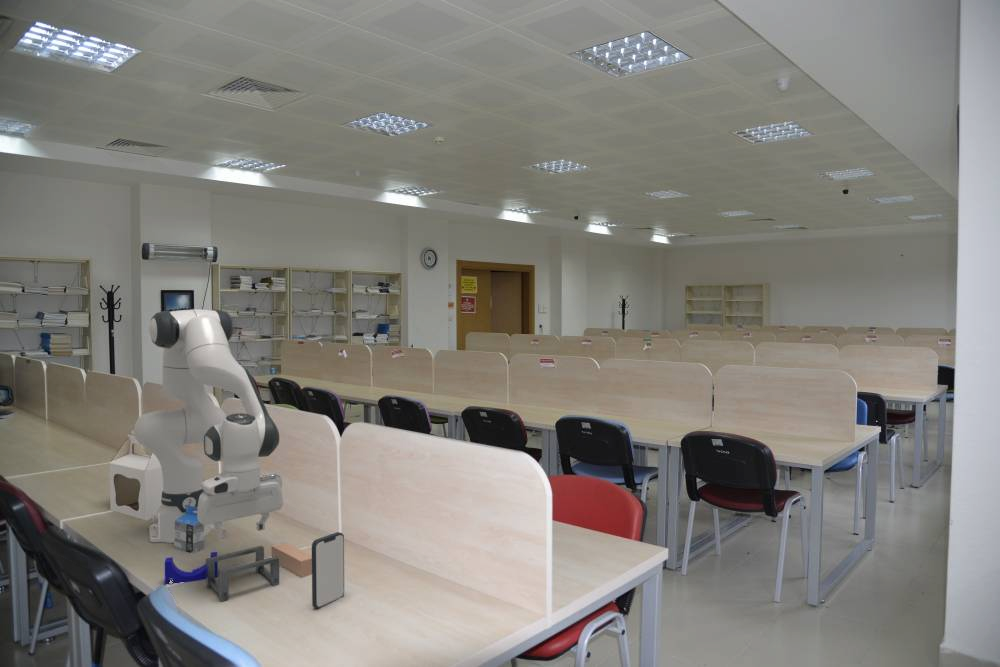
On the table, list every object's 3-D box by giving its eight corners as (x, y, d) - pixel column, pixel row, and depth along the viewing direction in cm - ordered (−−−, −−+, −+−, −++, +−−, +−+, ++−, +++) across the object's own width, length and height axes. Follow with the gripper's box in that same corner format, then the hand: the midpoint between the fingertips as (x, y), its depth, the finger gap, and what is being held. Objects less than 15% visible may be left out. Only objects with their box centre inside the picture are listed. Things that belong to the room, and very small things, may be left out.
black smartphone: (340, 595, 156) (340, 530, 155) (345, 597, 155) (344, 531, 155) (310, 608, 149) (309, 540, 148) (315, 610, 148) (314, 542, 147)
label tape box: (173, 549, 186) (172, 507, 186) (186, 545, 190) (185, 504, 189) (192, 555, 182) (192, 512, 182) (205, 550, 185) (204, 508, 185)
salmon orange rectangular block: (271, 564, 176) (271, 546, 176) (285, 559, 179) (285, 542, 179) (301, 580, 165) (301, 561, 165) (315, 576, 168) (315, 557, 168)
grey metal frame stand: (206, 586, 161) (205, 558, 161) (262, 571, 170) (261, 545, 170) (221, 602, 152) (221, 572, 152) (279, 585, 162) (278, 558, 161)
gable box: (109, 512, 221) (108, 431, 220) (147, 503, 232) (146, 426, 231) (146, 523, 209) (144, 438, 208) (184, 512, 221) (182, 431, 220)
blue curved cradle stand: (217, 572, 171) (217, 549, 170) (217, 578, 166) (216, 555, 166) (167, 578, 166) (166, 556, 166) (165, 585, 162) (164, 562, 162)
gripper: (277, 470, 170) (277, 521, 170) (194, 483, 156) (195, 539, 157) (286, 475, 165) (287, 528, 166) (202, 489, 152) (203, 547, 152)
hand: (241, 533), depth 161 cm, fingers open, 8 cm apart
